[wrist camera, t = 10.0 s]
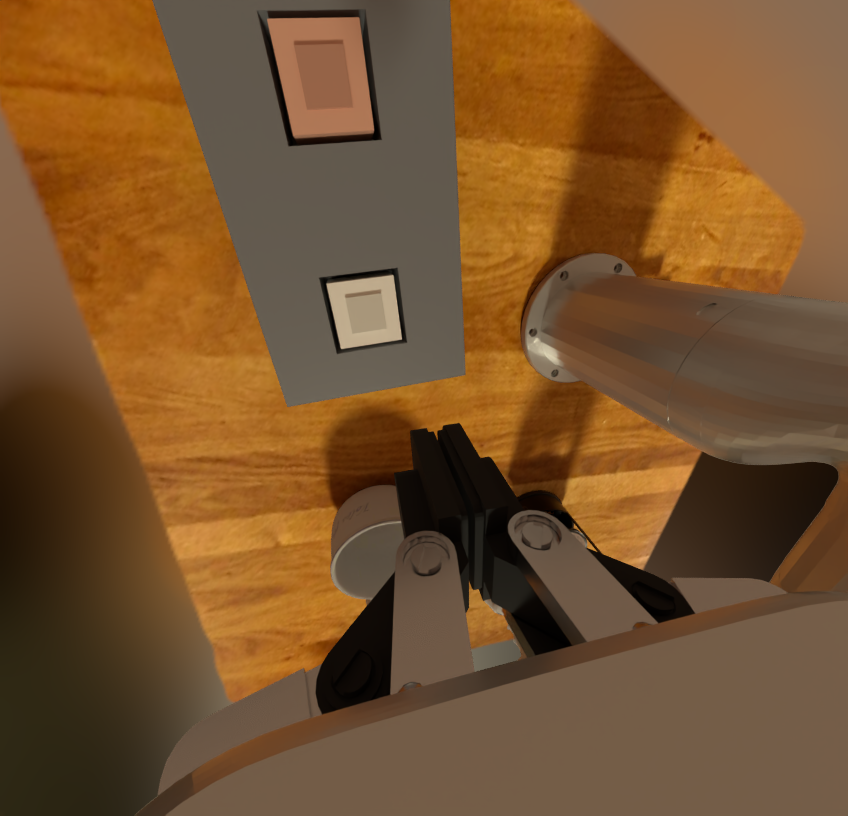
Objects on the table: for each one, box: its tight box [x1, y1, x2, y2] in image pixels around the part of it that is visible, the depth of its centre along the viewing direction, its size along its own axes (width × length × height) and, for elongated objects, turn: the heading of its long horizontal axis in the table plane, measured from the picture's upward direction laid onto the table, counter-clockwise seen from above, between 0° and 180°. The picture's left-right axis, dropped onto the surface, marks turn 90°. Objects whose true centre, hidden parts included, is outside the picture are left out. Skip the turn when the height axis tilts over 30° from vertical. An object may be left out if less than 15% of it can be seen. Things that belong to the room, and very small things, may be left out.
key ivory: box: [327, 271, 402, 349], centre depth 24 cm, size 4×4×3 cm
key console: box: [153, 0, 465, 407], centre depth 23 cm, size 14×24×6 cm, turn 6°
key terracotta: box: [267, 17, 374, 146], centre depth 18 cm, size 4×4×3 cm
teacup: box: [331, 485, 404, 605], centre depth 36 cm, size 14×11×8 cm
